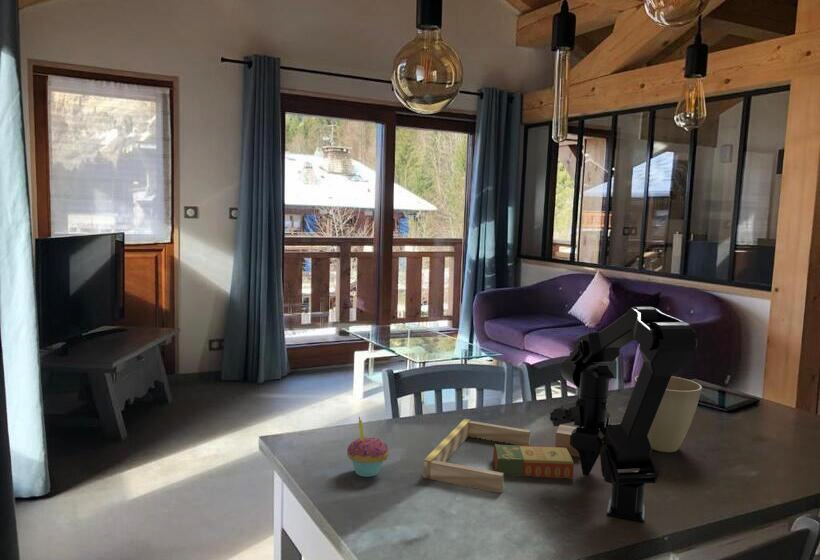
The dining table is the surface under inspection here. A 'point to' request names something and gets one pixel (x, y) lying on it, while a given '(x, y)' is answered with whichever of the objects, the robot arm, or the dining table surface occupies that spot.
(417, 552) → the dining table surface
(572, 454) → the cardboard box
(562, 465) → the carton
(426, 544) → the dining table surface
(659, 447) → the plant pot
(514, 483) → the dining table surface
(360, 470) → the cupcake
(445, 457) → the dock bay
